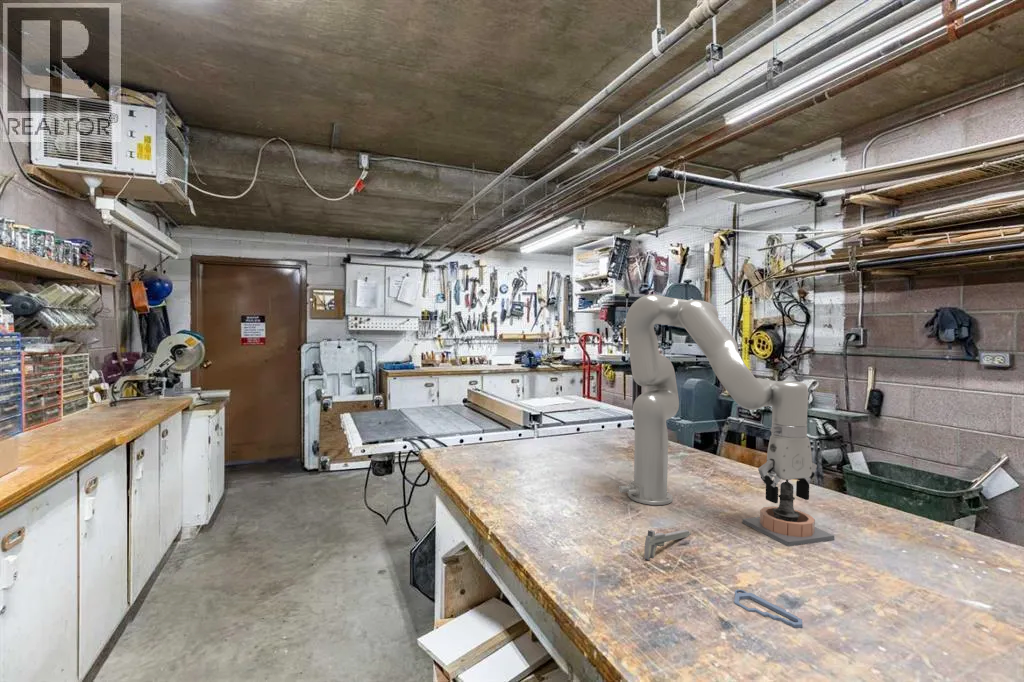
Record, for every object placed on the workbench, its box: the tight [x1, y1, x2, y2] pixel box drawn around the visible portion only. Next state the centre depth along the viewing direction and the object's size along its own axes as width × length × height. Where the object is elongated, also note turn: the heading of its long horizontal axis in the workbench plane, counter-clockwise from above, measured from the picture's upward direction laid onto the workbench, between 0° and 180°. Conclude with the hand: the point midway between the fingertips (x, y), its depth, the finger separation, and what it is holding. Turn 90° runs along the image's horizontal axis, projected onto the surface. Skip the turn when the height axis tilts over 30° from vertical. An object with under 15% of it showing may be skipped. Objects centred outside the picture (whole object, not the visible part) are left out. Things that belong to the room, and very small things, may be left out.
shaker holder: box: [741, 505, 835, 547], centre depth 117 cm, size 14×14×4 cm
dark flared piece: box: [773, 480, 800, 522], centre depth 117 cm, size 6×6×12 cm
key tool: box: [733, 588, 803, 629], centre depth 82 cm, size 12×1×5 cm
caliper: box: [643, 529, 692, 561], centre depth 107 cm, size 20×1×6 cm, turn 135°
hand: (787, 499), depth 117 cm, fingers open, 9 cm apart
